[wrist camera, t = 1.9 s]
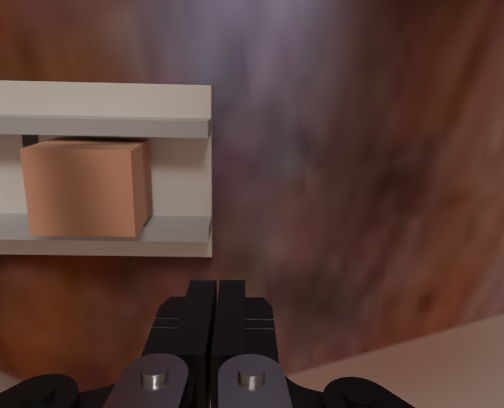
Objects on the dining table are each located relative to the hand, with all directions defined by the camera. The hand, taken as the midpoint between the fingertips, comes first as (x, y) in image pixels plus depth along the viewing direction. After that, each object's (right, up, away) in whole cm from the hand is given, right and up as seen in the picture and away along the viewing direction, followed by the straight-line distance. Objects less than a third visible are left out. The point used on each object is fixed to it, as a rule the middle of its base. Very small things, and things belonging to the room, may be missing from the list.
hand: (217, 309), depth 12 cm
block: (-9, +5, +17) cm, 20 cm away
